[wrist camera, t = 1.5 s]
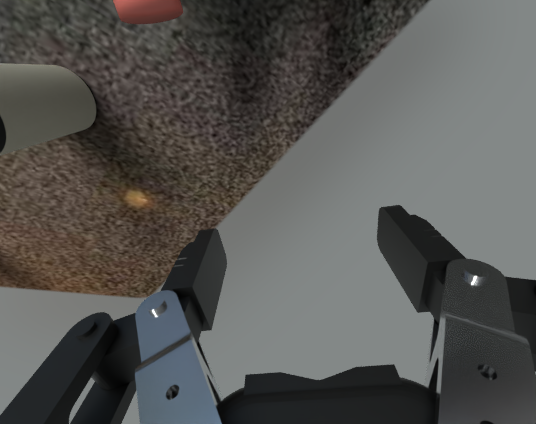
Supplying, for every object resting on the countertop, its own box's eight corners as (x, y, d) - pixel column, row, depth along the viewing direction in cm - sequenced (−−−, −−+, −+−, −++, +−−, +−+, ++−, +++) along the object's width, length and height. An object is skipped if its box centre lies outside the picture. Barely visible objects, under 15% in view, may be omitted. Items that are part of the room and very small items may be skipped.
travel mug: (57, 50, 30) (-178, 27, 14) (110, 109, 33) (-36, 141, 18) (22, 90, 32) (-214, 107, 17) (74, 141, 36) (-83, 195, 20)
